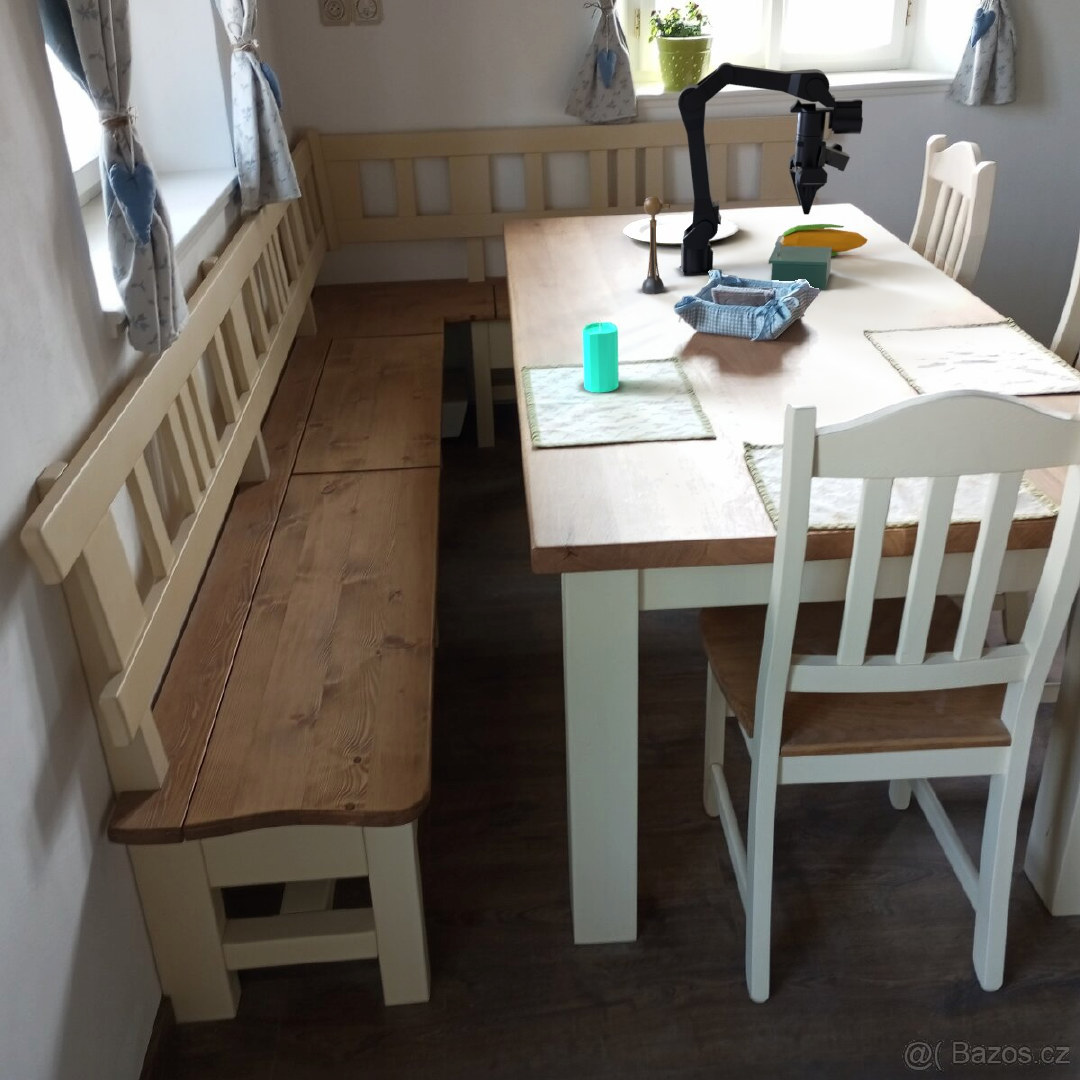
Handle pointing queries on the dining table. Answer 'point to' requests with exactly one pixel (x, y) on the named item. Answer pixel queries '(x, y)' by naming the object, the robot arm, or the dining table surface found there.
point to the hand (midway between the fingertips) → (804, 209)
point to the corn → (823, 237)
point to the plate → (673, 229)
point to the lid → (799, 254)
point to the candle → (600, 357)
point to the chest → (803, 273)
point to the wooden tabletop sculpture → (653, 247)
